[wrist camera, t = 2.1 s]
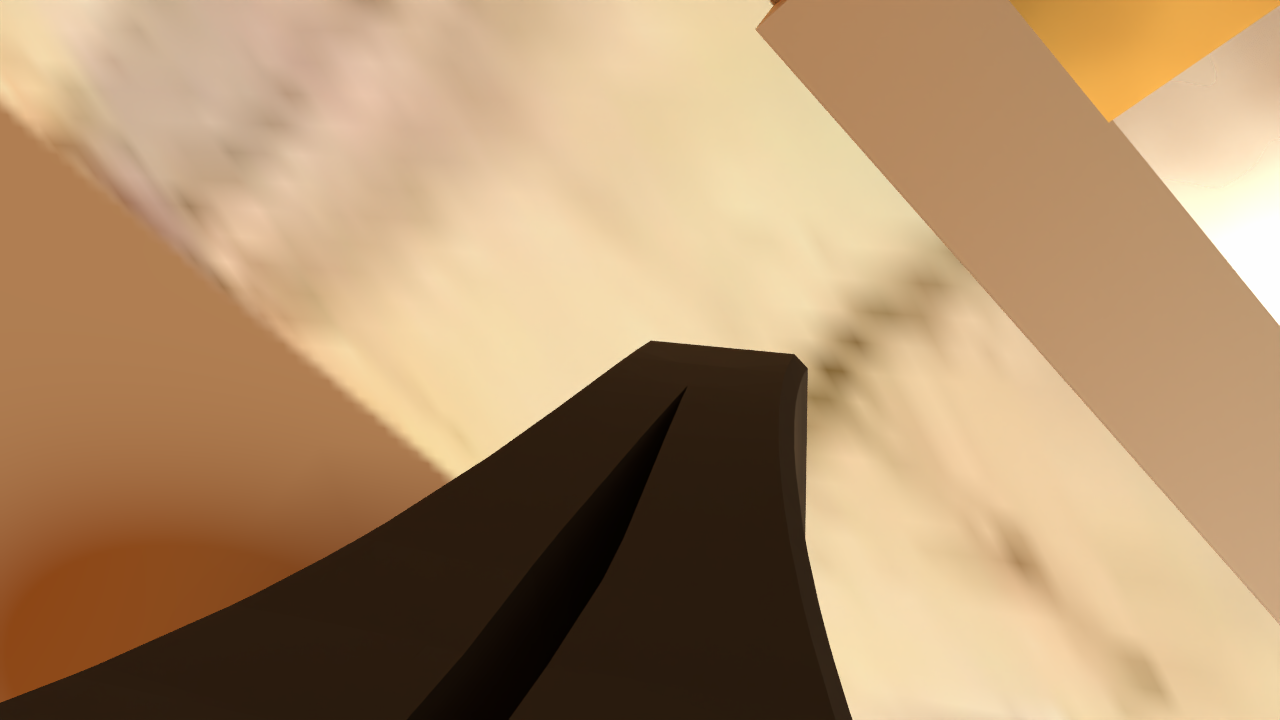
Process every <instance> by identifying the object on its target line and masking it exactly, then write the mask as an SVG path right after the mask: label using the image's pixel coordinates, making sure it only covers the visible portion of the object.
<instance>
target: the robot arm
mask: <svg viewBox="0 0 1280 720" xmlns="http://www.w3.org/2000/svg"><path fill="white" fill-rule="evenodd" d="M807 381H808V368H807V367H806V366H805V365H804V364H803V363H802V362H801V361H800V360H799V359H798V358H797V356H796V355H795V354H786V353H775V352H765V351H754V350H743V349H733V348H722V347H712V346H701V345H691V344H680V343H670V342H659V341H650V342H648V343H647V344H645V345H644V346H642V347H640V348H639V349H637V350H636V351H635V352H633V353H632V354H630V355H629V356H627V357H626V358H625V359H623V360H622V361H620V362H619V363H618V364H616V365H615V366H614V367H612V368H611V369H610V370H608V371H607V372H605V373H604V374H603V375H601V376H600V377H599V378H597V379H596V380H595V381H593V382H592V383H591V384H589V385H588V386H587V387H585V388H584V389H582V390H581V391H580V392H578V393H577V394H576V395H574V396H573V397H572V398H570V399H569V400H568V401H566V402H565V403H564V404H562V405H561V406H559V407H558V408H557V409H555V410H554V411H552V412H551V413H550V414H548V415H547V416H545V417H544V418H543V419H541V420H540V421H538V422H537V423H536V424H534V425H533V426H531V427H530V428H529V429H527V430H526V431H524V432H523V433H522V434H520V435H519V436H517V437H516V438H515V439H513V440H512V441H510V442H509V443H508V444H506V445H505V446H503V447H502V448H501V449H499V450H498V451H496V452H495V453H493V454H492V455H491V456H489V457H488V458H486V459H485V460H483V461H481V462H480V463H478V464H477V465H475V466H474V467H472V468H471V469H469V470H467V471H466V472H464V473H463V474H461V475H460V476H458V477H457V478H455V479H453V480H452V481H450V482H449V483H447V484H446V485H444V486H443V487H441V488H440V489H438V490H436V491H435V492H433V493H432V494H430V495H429V496H427V497H425V498H424V499H422V500H421V501H419V502H418V503H416V504H414V505H413V506H411V507H410V508H408V509H407V510H405V511H404V512H402V513H400V514H399V515H397V516H396V517H394V518H393V519H391V520H390V521H388V522H386V523H385V524H383V525H381V526H379V527H378V528H376V529H374V530H373V531H371V532H369V533H368V534H366V535H364V536H362V537H361V538H359V539H357V540H356V541H354V542H352V543H350V544H348V545H346V546H345V547H343V548H341V549H339V550H338V551H336V552H334V553H332V554H330V555H329V556H327V557H325V558H323V559H321V560H319V561H317V562H316V563H314V564H312V565H310V566H308V567H306V568H304V569H302V570H300V571H298V572H296V573H294V574H293V575H290V576H289V577H287V578H285V579H283V580H281V581H279V582H277V583H275V584H273V585H271V586H269V587H268V588H266V589H264V590H262V591H260V592H258V593H256V594H254V595H252V596H250V597H248V598H245V599H243V600H241V601H239V602H238V603H235V604H233V605H231V606H229V607H227V608H224V609H222V610H220V611H218V612H215V613H213V614H211V615H209V616H206V617H204V618H202V619H200V620H197V621H195V622H193V623H191V624H188V625H186V626H184V627H182V628H179V629H177V630H175V631H173V632H170V633H168V634H166V635H164V636H161V637H159V638H157V639H155V640H152V641H150V642H148V643H146V644H143V645H141V646H139V647H137V648H134V649H132V650H130V651H128V652H125V653H123V654H121V655H119V656H116V657H114V658H112V659H110V660H107V661H105V662H103V663H100V664H99V665H96V666H94V667H91V668H89V669H86V670H84V671H81V672H79V673H76V674H74V675H71V676H69V677H66V678H64V679H61V680H58V681H56V682H53V683H51V684H48V685H45V686H43V687H40V688H38V689H35V690H33V691H30V692H27V693H25V694H22V695H20V696H17V697H14V698H12V699H9V700H6V701H4V702H1V703H0V720H852V717H851V714H850V711H849V708H848V705H847V702H846V698H845V695H844V692H843V689H842V685H841V682H840V679H839V676H838V672H837V669H836V666H835V663H834V659H833V656H832V652H831V649H830V645H829V641H828V638H827V634H826V630H825V626H824V622H823V618H822V615H821V611H820V607H819V603H818V598H817V593H816V589H815V584H814V580H813V575H812V571H811V566H810V562H809V557H808V552H807V546H806V541H805V514H806V447H807Z"/></svg>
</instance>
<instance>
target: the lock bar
mask: <svg viewBox="0 0 1280 720" xmlns="http://www.w3.org/2000/svg"><path fill="white" fill-rule="evenodd" d="M1009 1H1010V2H1011V4H1012V5H1013V6H1014V7H1015V8H1016V10H1017V11H1018V12H1019V13H1020V15H1021V16H1022V17H1023V18H1024V19H1025V21H1026V22H1027V23H1028V24H1029V26H1030V27H1031V28H1032V29H1033V31H1034V32H1035V33H1036V34H1037V35H1038V37H1039V38H1040V39H1041V40H1042V42H1043V43H1044V44H1045V45H1046V46H1047V48H1048V49H1049V50H1050V51H1051V53H1052V54H1053V55H1054V56H1055V58H1056V59H1057V60H1058V61H1059V62H1060V64H1061V65H1062V66H1063V67H1064V69H1065V70H1066V71H1067V72H1068V73H1069V75H1070V76H1071V77H1072V78H1073V80H1074V81H1075V82H1076V83H1077V85H1078V86H1079V87H1080V88H1081V89H1082V91H1083V92H1084V93H1085V94H1086V96H1087V97H1088V98H1089V99H1090V100H1091V102H1092V103H1093V104H1094V105H1095V107H1096V108H1097V109H1098V110H1099V112H1100V113H1101V114H1102V115H1103V116H1104V118H1105V119H1106V120H1107V121H1108V123H1109V122H1110V121H1112V120H1113V121H1114V122H1115V124H1116V125H1117V126H1118V127H1119V128H1120V130H1121V131H1122V132H1123V133H1124V135H1125V136H1126V137H1127V138H1128V140H1129V141H1130V142H1131V143H1132V144H1133V146H1134V147H1135V148H1136V149H1137V151H1138V152H1139V153H1140V154H1141V156H1142V157H1143V158H1144V159H1145V160H1146V162H1147V163H1148V164H1149V165H1150V167H1151V168H1152V169H1153V170H1154V171H1155V173H1156V174H1157V175H1158V176H1159V178H1160V179H1161V180H1162V181H1163V183H1164V184H1165V185H1166V186H1167V187H1168V189H1169V190H1170V191H1171V192H1172V194H1173V195H1174V196H1175V197H1176V199H1177V200H1178V201H1179V202H1180V203H1181V205H1182V206H1183V207H1184V208H1185V210H1186V211H1187V212H1188V213H1189V215H1190V216H1191V217H1192V218H1193V219H1194V221H1195V222H1196V223H1197V224H1198V226H1199V227H1200V228H1201V229H1202V230H1203V232H1204V233H1205V234H1206V235H1207V237H1208V238H1209V239H1210V240H1211V242H1212V243H1213V244H1214V245H1215V246H1216V248H1217V249H1218V250H1219V251H1220V253H1221V254H1222V255H1223V256H1224V258H1225V259H1226V260H1227V261H1228V262H1229V264H1230V265H1231V266H1232V267H1233V269H1234V270H1235V271H1236V272H1237V274H1238V275H1239V276H1240V277H1241V278H1242V280H1243V281H1244V282H1245V283H1246V285H1247V286H1248V287H1249V288H1250V289H1251V291H1252V292H1253V293H1254V294H1255V296H1256V297H1257V298H1258V299H1259V301H1260V302H1261V303H1262V304H1263V305H1264V307H1265V308H1266V309H1267V310H1268V312H1269V313H1270V314H1271V315H1272V317H1273V318H1274V319H1275V320H1276V321H1277V323H1278V324H1279V325H1280V0H1009Z"/></svg>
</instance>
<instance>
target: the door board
mask: <svg viewBox="0 0 1280 720" xmlns="http://www.w3.org/2000/svg"><path fill="white" fill-rule="evenodd" d="M756 31H757V32H758V33H759V34H760V35H761V36H762V37H763V39H764V40H765V41H766V42H767V43H768V44H769V45H770V46H771V48H772V49H773V50H774V51H775V52H776V53H777V54H778V56H779V57H780V58H781V59H782V60H783V61H784V62H785V64H786V65H787V66H788V67H789V68H790V69H791V70H792V71H793V73H794V74H795V75H796V76H797V77H798V78H799V79H800V81H801V82H802V83H803V84H804V85H805V86H806V87H807V88H808V90H809V91H810V92H811V93H812V94H813V95H814V96H815V98H816V99H817V100H818V101H819V102H820V103H821V104H822V106H823V107H824V108H825V109H826V110H827V111H828V112H829V113H830V115H831V116H832V117H833V118H834V119H835V120H836V121H837V123H838V124H839V125H840V126H841V127H842V128H843V129H844V130H845V132H846V133H847V134H848V135H849V136H850V137H851V138H852V140H853V141H854V142H855V143H856V144H857V145H858V146H859V148H860V149H861V150H862V151H863V152H864V153H865V154H866V155H867V157H868V158H869V159H870V160H871V161H872V162H873V163H874V165H875V166H876V167H877V168H878V169H879V170H880V171H881V172H882V174H883V175H884V176H885V177H886V178H887V179H888V180H889V182H890V183H891V184H892V185H893V186H894V187H895V188H896V190H897V191H898V192H899V193H900V194H901V195H902V196H903V197H904V199H905V200H906V201H907V202H908V203H909V204H910V205H911V207H912V208H913V209H914V210H915V211H916V212H917V213H918V214H919V216H920V217H921V218H922V219H923V220H924V221H925V222H926V224H927V225H928V226H929V227H930V228H931V229H932V230H933V232H934V233H935V234H936V235H937V236H938V237H939V238H940V239H941V241H942V242H943V243H944V244H945V245H946V246H947V247H948V249H949V250H950V251H951V252H952V253H953V254H954V255H955V256H956V258H957V259H958V260H959V261H960V262H961V263H962V264H963V266H964V267H965V268H966V269H967V270H968V271H969V272H970V274H971V275H972V276H973V277H974V278H975V279H976V280H977V281H978V283H979V284H980V285H981V286H982V287H983V288H984V289H985V291H986V292H987V293H988V294H989V295H990V296H991V297H992V298H993V300H994V301H995V302H996V303H997V304H998V305H999V306H1000V308H1001V309H1002V310H1003V311H1004V312H1005V313H1006V314H1007V316H1008V317H1009V318H1010V319H1011V320H1012V321H1013V322H1014V323H1015V325H1016V326H1017V327H1018V328H1019V329H1020V330H1021V331H1022V333H1023V334H1024V335H1025V336H1026V337H1027V338H1028V339H1029V340H1030V342H1031V343H1032V344H1033V345H1034V346H1035V347H1036V348H1037V350H1038V351H1039V352H1040V353H1041V354H1042V355H1043V356H1044V358H1045V359H1046V360H1047V361H1048V362H1049V363H1050V364H1051V365H1052V367H1053V368H1054V369H1055V370H1056V371H1057V372H1058V373H1059V375H1060V376H1061V377H1062V378H1063V379H1064V380H1065V381H1066V382H1067V384H1068V385H1069V386H1070V387H1071V388H1072V389H1073V390H1074V392H1075V393H1076V394H1077V395H1078V396H1079V397H1080V398H1081V400H1082V401H1083V402H1084V403H1085V404H1086V405H1087V406H1088V407H1089V409H1090V410H1091V411H1092V412H1093V413H1094V414H1095V415H1096V417H1097V418H1098V419H1099V420H1100V421H1101V422H1102V423H1103V424H1104V426H1105V427H1106V428H1107V429H1108V430H1109V431H1110V432H1111V434H1112V435H1113V436H1114V437H1115V438H1116V439H1117V440H1118V442H1119V443H1120V444H1121V445H1122V446H1123V447H1124V448H1125V449H1126V451H1127V452H1128V453H1129V454H1130V455H1131V456H1132V457H1133V459H1134V460H1135V461H1136V462H1137V463H1138V464H1139V465H1140V466H1141V468H1142V469H1143V470H1144V471H1145V472H1146V473H1147V474H1148V476H1149V477H1150V478H1151V479H1152V480H1153V481H1154V482H1155V484H1156V485H1157V486H1158V487H1159V488H1160V489H1161V490H1162V491H1163V493H1164V494H1165V495H1166V496H1167V497H1168V498H1169V499H1170V501H1171V502H1172V503H1173V504H1174V505H1175V506H1176V507H1177V508H1178V510H1179V511H1180V512H1181V513H1182V514H1183V515H1184V516H1185V518H1186V519H1187V520H1188V521H1189V522H1190V523H1191V524H1192V526H1193V527H1194V528H1195V529H1196V530H1197V531H1198V532H1199V533H1200V535H1201V536H1202V537H1203V538H1204V539H1205V540H1206V541H1207V543H1208V544H1209V545H1210V546H1211V547H1212V548H1213V549H1214V550H1215V552H1216V553H1217V554H1218V555H1219V556H1220V557H1221V558H1222V560H1223V561H1224V562H1225V563H1226V564H1227V565H1228V566H1229V568H1230V569H1231V570H1232V571H1233V572H1234V573H1235V574H1236V575H1237V577H1238V578H1239V579H1240V580H1241V581H1242V582H1243V583H1244V585H1245V586H1246V587H1247V588H1248V589H1249V590H1250V591H1251V592H1252V594H1253V595H1254V596H1255V597H1256V598H1257V599H1258V600H1259V602H1260V603H1261V604H1262V605H1263V606H1264V607H1265V608H1266V610H1267V611H1268V612H1269V613H1270V614H1271V615H1272V616H1273V617H1274V619H1275V620H1276V621H1277V622H1278V623H1279V624H1280V325H1279V324H1278V323H1277V321H1276V320H1275V319H1274V318H1273V317H1272V315H1271V314H1270V313H1269V312H1268V310H1267V309H1266V308H1265V307H1264V305H1263V304H1262V303H1261V302H1260V301H1259V299H1258V298H1257V297H1256V296H1255V294H1254V293H1253V292H1252V291H1251V289H1250V288H1249V287H1248V286H1247V285H1246V283H1245V282H1244V281H1243V280H1242V278H1241V277H1240V276H1239V275H1238V274H1237V272H1236V271H1235V270H1234V269H1233V267H1232V266H1231V265H1230V264H1229V262H1228V261H1227V260H1226V259H1225V258H1224V256H1223V255H1222V254H1221V253H1220V251H1219V250H1218V249H1217V248H1216V246H1215V245H1214V244H1213V243H1212V242H1211V240H1210V239H1209V238H1208V237H1207V235H1206V234H1205V233H1204V232H1203V230H1202V229H1201V228H1200V227H1199V226H1198V224H1197V223H1196V222H1195V221H1194V219H1193V218H1192V217H1191V216H1190V215H1189V213H1188V212H1187V211H1186V210H1185V208H1184V207H1183V206H1182V205H1181V203H1180V202H1179V201H1178V200H1177V199H1176V197H1175V196H1174V195H1173V194H1172V192H1171V191H1170V190H1169V189H1168V187H1167V186H1166V185H1165V184H1164V183H1163V181H1162V180H1161V179H1160V178H1159V176H1158V175H1157V174H1156V173H1155V171H1154V170H1153V169H1152V168H1151V167H1150V165H1149V164H1148V163H1147V162H1146V160H1145V159H1144V158H1143V157H1142V156H1141V154H1140V153H1139V152H1138V151H1137V149H1136V148H1135V147H1134V146H1133V144H1132V143H1131V142H1130V141H1129V140H1128V138H1127V137H1126V136H1125V135H1124V133H1123V132H1122V131H1121V130H1120V128H1119V127H1118V126H1117V125H1116V124H1115V122H1114V121H1113V120H1112V121H1110V122H1109V123H1108V121H1107V120H1106V119H1105V118H1104V116H1103V115H1102V114H1101V113H1100V112H1099V110H1098V109H1097V108H1096V107H1095V105H1094V104H1093V103H1092V102H1091V100H1090V99H1089V98H1088V97H1087V96H1086V94H1085V93H1084V92H1083V91H1082V89H1081V88H1080V87H1079V86H1078V85H1077V83H1076V82H1075V81H1074V80H1073V78H1072V77H1071V76H1070V75H1069V73H1068V72H1067V71H1066V70H1065V69H1064V67H1063V66H1062V65H1061V64H1060V62H1059V61H1058V60H1057V59H1056V58H1055V56H1054V55H1053V54H1052V53H1051V51H1050V50H1049V49H1048V48H1047V46H1046V45H1045V44H1044V43H1043V42H1042V40H1041V39H1040V38H1039V37H1038V35H1037V34H1036V33H1035V32H1034V31H1033V29H1032V28H1031V27H1030V26H1029V24H1028V23H1027V22H1026V21H1025V19H1024V18H1023V17H1022V16H1021V15H1020V13H1019V12H1018V11H1017V10H1016V8H1015V7H1014V6H1013V5H1012V4H1011V2H1010V1H1009V0H780V1H779V2H778V3H776V4H775V5H774V6H773V7H772V8H771V10H770V11H769V12H768V14H767V15H766V16H765V18H764V19H763V20H762V21H761V23H760V24H759V25H758V27H757V28H756Z"/></svg>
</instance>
